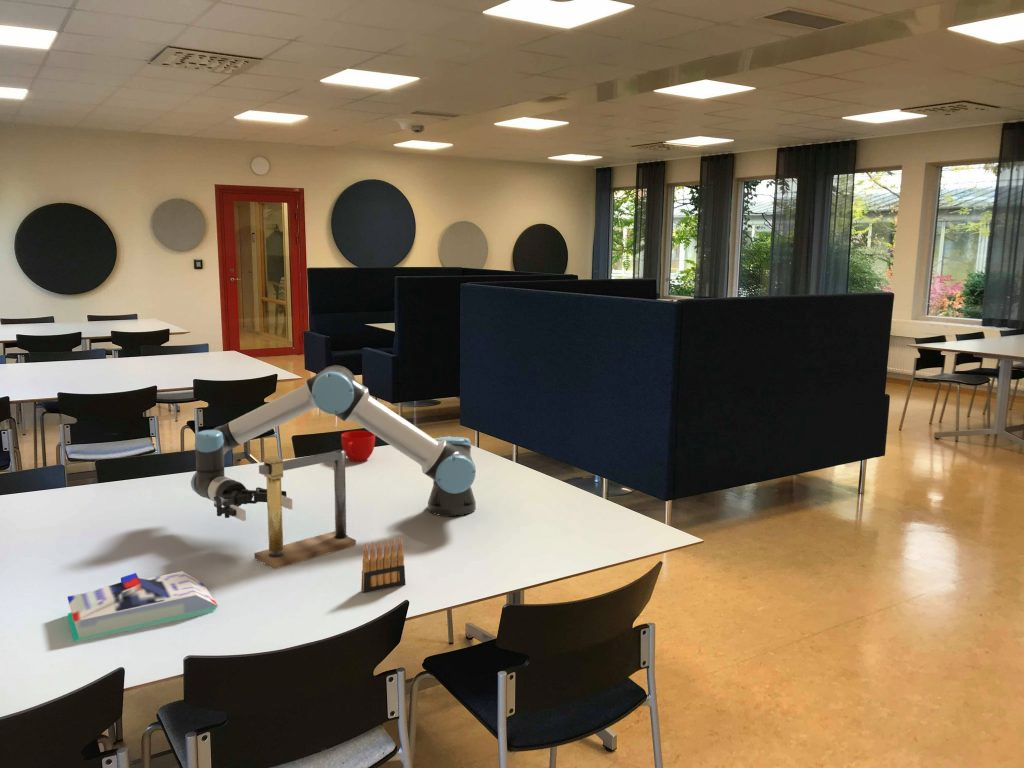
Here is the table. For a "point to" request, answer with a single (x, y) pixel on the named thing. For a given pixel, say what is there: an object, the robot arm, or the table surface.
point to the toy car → (137, 604)
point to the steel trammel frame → (339, 481)
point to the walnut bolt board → (304, 550)
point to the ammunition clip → (383, 567)
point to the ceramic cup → (358, 445)
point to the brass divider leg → (274, 503)
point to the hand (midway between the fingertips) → (268, 509)
